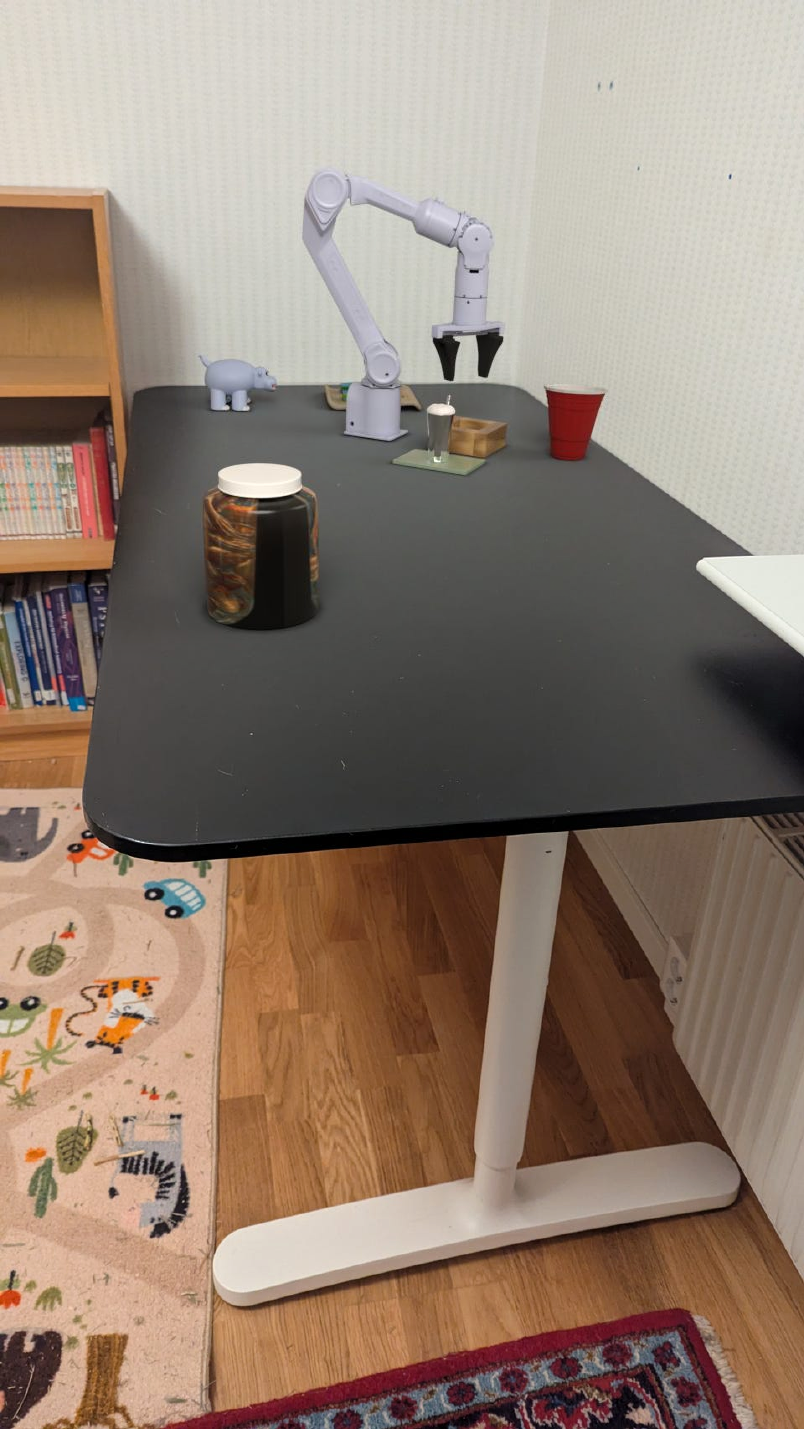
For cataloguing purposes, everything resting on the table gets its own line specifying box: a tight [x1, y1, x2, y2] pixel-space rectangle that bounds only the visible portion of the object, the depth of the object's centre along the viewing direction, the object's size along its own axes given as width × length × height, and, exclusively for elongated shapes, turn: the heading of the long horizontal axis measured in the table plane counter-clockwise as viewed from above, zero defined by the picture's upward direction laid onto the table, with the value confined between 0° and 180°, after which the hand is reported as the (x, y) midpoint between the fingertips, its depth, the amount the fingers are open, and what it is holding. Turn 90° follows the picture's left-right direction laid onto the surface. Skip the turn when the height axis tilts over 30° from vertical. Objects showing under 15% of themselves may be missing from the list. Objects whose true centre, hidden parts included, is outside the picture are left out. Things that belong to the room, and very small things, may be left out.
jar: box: [202, 462, 320, 630], centre depth 107 cm, size 12×12×15 cm
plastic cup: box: [543, 383, 609, 461], centre depth 174 cm, size 11×11×12 cm
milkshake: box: [426, 394, 456, 463], centre depth 166 cm, size 4×5×10 cm
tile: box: [392, 448, 486, 476], centre depth 169 cm, size 13×9×1 cm
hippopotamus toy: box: [198, 354, 278, 412], centre depth 199 cm, size 11×15×10 cm
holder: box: [449, 415, 508, 459], centre depth 178 cm, size 10×10×4 cm
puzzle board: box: [323, 381, 422, 411], centre depth 209 cm, size 18×19×4 cm
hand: (465, 378), depth 181 cm, fingers open, 7 cm apart
